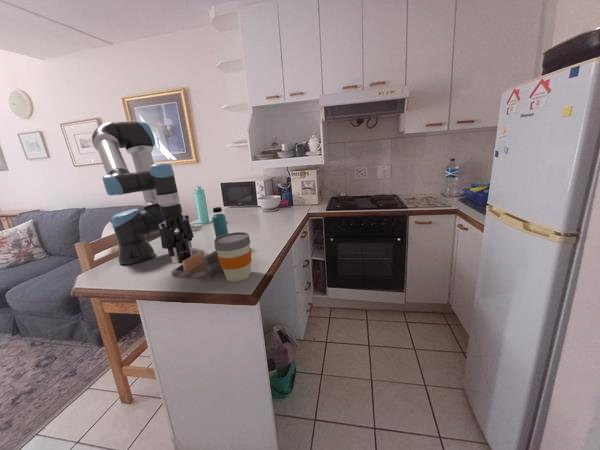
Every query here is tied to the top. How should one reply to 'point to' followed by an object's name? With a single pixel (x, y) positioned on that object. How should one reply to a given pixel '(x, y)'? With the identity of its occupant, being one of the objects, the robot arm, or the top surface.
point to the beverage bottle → (219, 222)
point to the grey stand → (202, 269)
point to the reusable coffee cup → (234, 255)
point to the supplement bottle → (181, 246)
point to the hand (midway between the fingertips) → (183, 259)
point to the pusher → (193, 261)
